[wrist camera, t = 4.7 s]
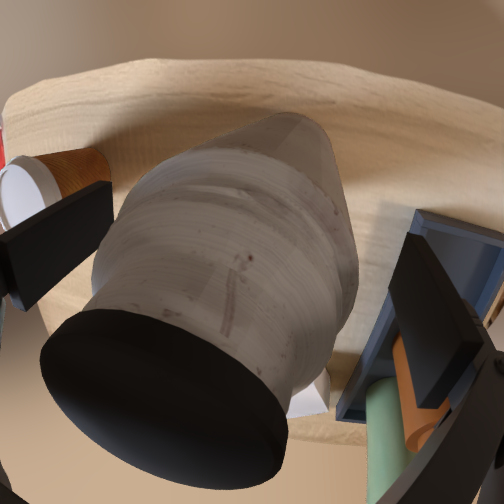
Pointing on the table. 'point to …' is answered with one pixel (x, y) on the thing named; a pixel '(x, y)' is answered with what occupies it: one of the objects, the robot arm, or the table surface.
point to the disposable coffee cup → (46, 181)
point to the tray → (462, 276)
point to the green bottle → (384, 438)
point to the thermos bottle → (212, 307)
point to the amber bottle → (413, 402)
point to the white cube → (311, 398)
